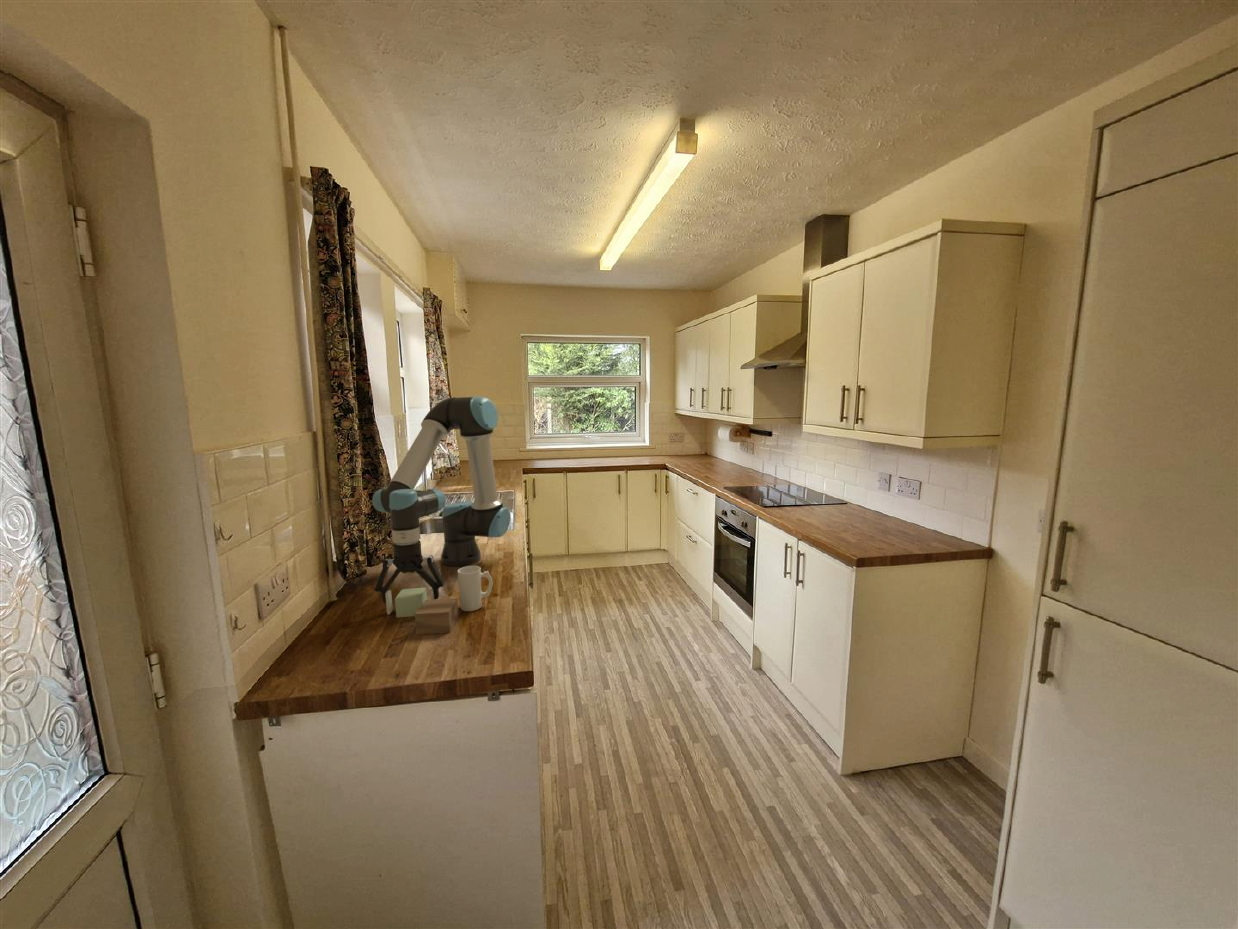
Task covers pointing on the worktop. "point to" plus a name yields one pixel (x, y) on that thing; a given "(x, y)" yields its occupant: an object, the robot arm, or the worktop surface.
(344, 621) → the worktop surface
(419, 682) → the worktop surface
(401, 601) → the sage brick
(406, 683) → the worktop surface
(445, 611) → the base brick
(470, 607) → the mug
